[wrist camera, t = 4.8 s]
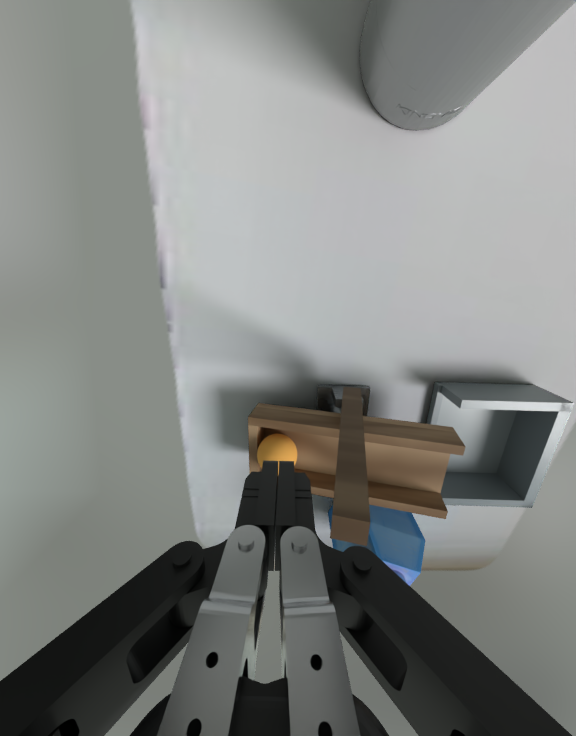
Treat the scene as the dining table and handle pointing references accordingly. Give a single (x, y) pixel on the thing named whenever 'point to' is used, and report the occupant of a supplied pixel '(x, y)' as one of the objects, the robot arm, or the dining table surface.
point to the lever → (361, 460)
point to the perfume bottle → (392, 541)
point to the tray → (498, 440)
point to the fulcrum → (338, 398)
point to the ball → (277, 449)
